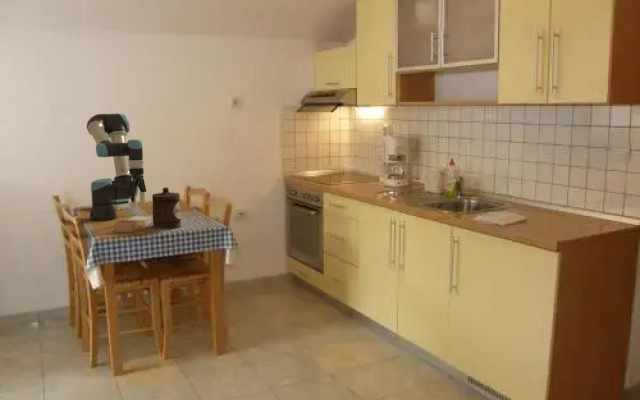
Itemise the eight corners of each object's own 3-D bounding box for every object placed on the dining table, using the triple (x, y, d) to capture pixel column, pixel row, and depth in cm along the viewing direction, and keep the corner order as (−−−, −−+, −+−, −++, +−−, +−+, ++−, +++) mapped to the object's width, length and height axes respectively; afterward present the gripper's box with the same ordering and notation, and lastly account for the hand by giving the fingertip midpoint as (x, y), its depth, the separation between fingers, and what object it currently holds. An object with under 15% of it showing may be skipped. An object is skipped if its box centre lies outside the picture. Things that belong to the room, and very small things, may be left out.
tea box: (129, 208, 389) (128, 185, 387) (117, 210, 381) (115, 187, 379) (114, 206, 397) (113, 184, 395) (101, 208, 389) (100, 185, 386)
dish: (114, 232, 316) (114, 223, 315) (121, 229, 325) (121, 220, 324) (131, 233, 315) (131, 223, 314) (137, 229, 324) (137, 220, 323)
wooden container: (182, 228, 327) (181, 188, 324) (154, 230, 322) (152, 190, 319) (178, 223, 341) (177, 185, 337) (152, 225, 336) (150, 186, 332)
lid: (126, 226, 331) (126, 219, 330) (133, 222, 341) (133, 216, 340) (144, 226, 330) (144, 220, 329) (151, 222, 340) (151, 216, 340)
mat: (124, 227, 330) (124, 226, 330) (132, 222, 342) (132, 222, 342) (145, 227, 329) (145, 226, 329) (153, 223, 341) (153, 222, 341)
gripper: (134, 169, 318) (136, 209, 321) (150, 165, 342) (152, 202, 345) (120, 169, 318) (123, 209, 321) (137, 165, 343) (139, 202, 346)
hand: (138, 205), depth 333 cm, fingers open, 13 cm apart
